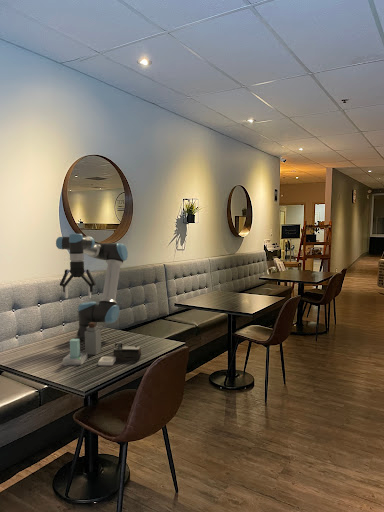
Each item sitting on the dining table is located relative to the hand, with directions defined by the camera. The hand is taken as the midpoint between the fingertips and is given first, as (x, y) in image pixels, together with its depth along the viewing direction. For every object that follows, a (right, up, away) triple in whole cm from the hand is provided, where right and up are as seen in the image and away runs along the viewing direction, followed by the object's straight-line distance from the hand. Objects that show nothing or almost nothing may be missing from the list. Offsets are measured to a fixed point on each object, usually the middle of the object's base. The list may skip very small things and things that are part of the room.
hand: (78, 298), depth 228 cm
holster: (+20, -34, -14) cm, 42 cm away
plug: (+2, -33, -11) cm, 35 cm away
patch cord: (0, -33, 0) cm, 33 cm away
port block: (+2, -34, -11) cm, 36 cm away
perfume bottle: (+8, -33, +3) cm, 34 cm away
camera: (+29, -33, -8) cm, 45 cm away
